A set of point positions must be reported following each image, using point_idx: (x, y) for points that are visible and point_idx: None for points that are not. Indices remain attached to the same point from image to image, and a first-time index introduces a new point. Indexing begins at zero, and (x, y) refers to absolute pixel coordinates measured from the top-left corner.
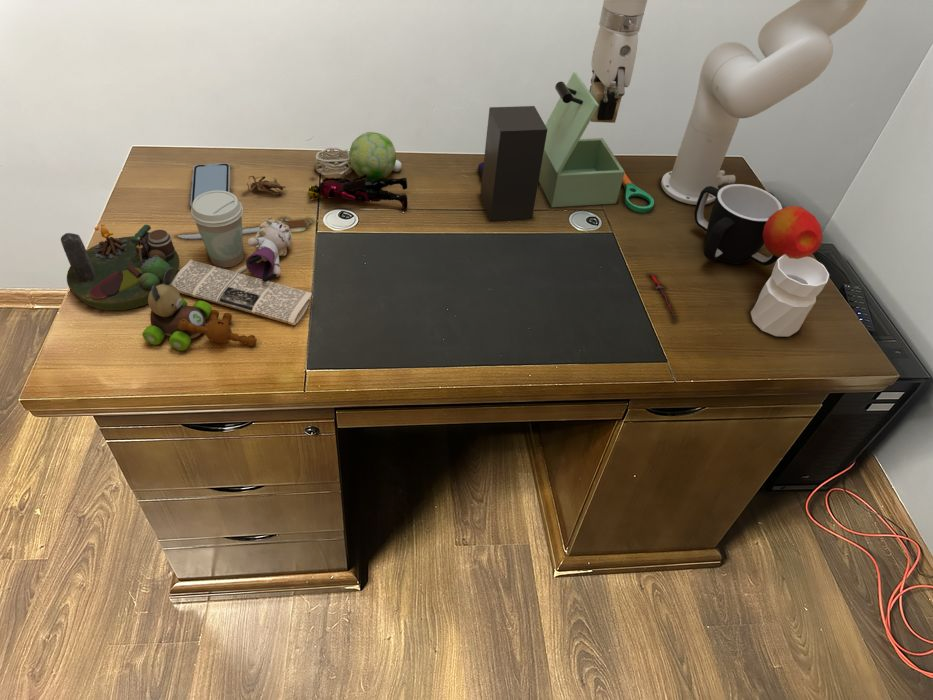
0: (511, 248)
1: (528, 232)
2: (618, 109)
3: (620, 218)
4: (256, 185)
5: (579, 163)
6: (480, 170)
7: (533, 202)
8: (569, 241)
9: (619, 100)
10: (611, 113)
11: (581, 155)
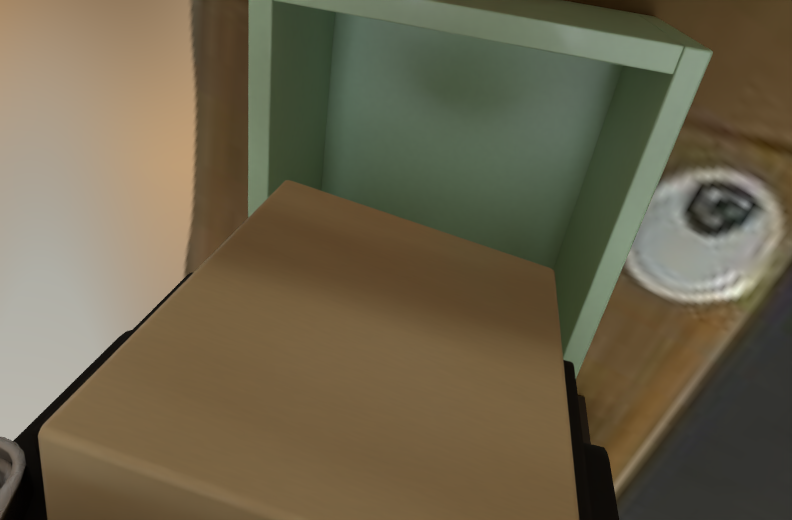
0: (697, 509)
1: (649, 439)
2: (564, 376)
3: (781, 66)
4: None
5: (321, 84)
6: None
7: None
8: (780, 358)
9: (567, 514)
10: (609, 485)
11: (305, 93)
